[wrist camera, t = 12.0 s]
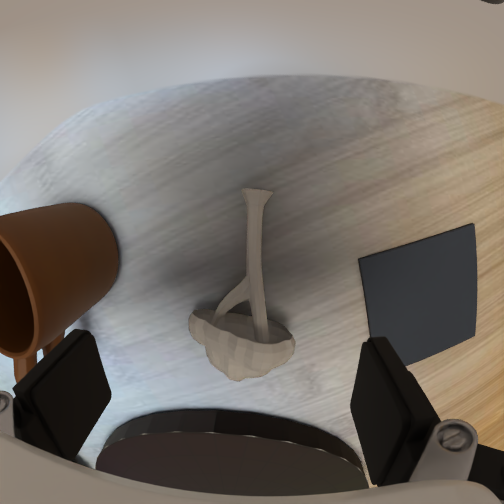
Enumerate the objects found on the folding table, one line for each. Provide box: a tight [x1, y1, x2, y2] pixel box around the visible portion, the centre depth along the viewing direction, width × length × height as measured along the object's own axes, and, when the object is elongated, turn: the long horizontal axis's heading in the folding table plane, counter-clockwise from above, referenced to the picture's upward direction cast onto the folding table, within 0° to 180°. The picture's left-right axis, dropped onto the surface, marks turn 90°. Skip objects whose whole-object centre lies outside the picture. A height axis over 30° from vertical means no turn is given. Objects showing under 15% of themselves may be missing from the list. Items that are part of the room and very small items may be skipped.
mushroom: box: [189, 188, 296, 381], centre depth 18 cm, size 7×5×12 cm
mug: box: [0, 203, 118, 383], centre depth 16 cm, size 12×8×9 cm, turn 176°
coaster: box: [358, 223, 477, 366], centre depth 20 cm, size 10×10×1 cm
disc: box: [95, 410, 369, 496], centre depth 25 cm, size 30×30×3 cm
